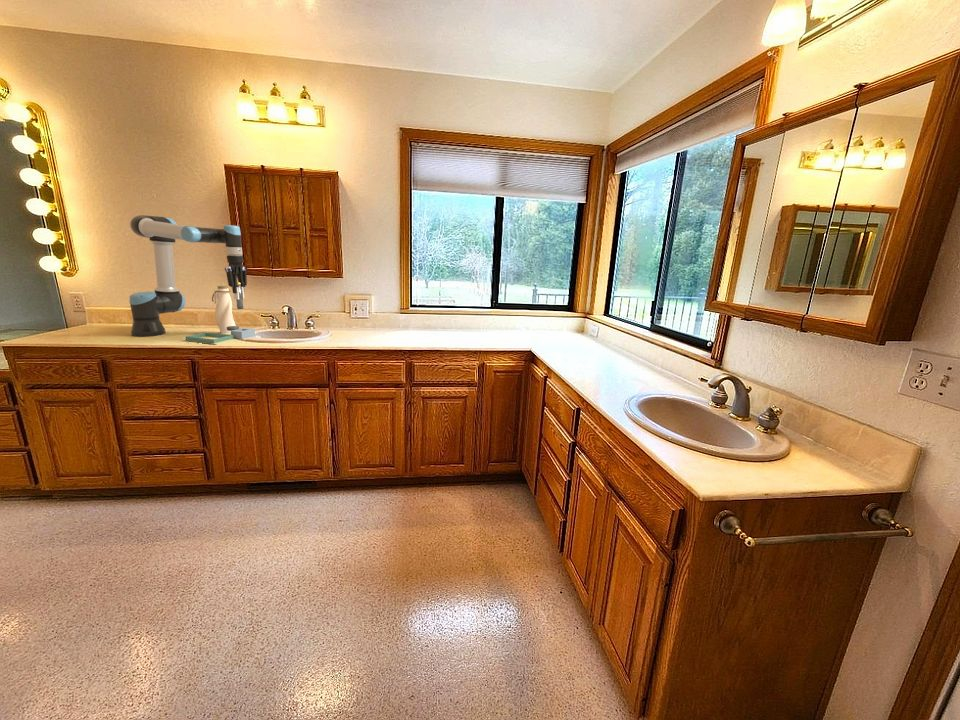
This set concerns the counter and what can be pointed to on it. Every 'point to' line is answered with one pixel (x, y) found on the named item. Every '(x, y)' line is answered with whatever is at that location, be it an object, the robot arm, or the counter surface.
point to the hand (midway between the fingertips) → (239, 298)
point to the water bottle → (223, 309)
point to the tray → (207, 341)
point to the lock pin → (240, 300)
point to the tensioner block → (241, 332)
